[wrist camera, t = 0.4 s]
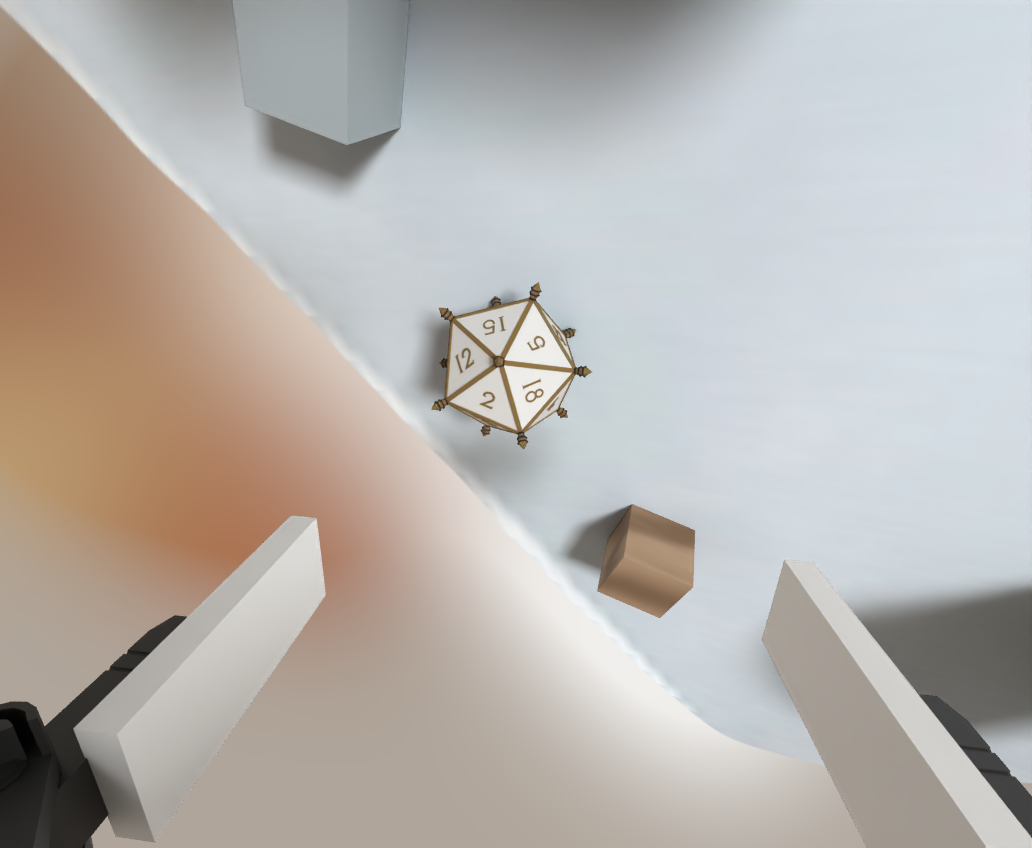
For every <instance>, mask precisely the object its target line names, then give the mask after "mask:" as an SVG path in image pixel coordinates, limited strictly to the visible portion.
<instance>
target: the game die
mask: <svg viewBox="0 0 1032 848" xmlns="http://www.w3.org/2000/svg"><path fill="white" fill-rule="evenodd" d="M540 292H541V290H540V286H539V282H538V283H537V284H536V285H534V286H533V287H531V291H530V297H529V298H527V299H523V300H519V301H515V302H511V303H507V304H503V305H501V302H500V299H498V298H497V297H496V296H495V297H494V299H493V300H492V301H491V302H492V306H493V307H491V308H487V309H483V310H479V311H475V312H471V313H467V314H463V315H459V316H453V315H452V312H451V311H449V310H448V308H447V309H446V308H439V310H440V313H441V317H444V318H445V320H446V319H447V320H449V321H450V332H449V345H448V358H447V359H444V358H443V360H442V361H441V362H440V364H441V365H442V367H443V368H444V367H446V368H447V372H446V385H445V398H444V399H443V400H439V401H437V402H436V401H435V403H434V405H433V407H432V409H431V410H439V411H441V409H442V408H443V409H444V408H445V406H446V405H450V406H452V407H454V408H456V409H457V410H459V411H461V412H463V413H465V414H466V415H468V416H470V417H472V418H473V419H475V420H477V421H479V422H481V423H482V424H484V426H483V427H482V430H481V432H482V434H483V436H486V435H487V434H489V431H490V427H493V428H496V429H500V430H504V431H507V432H511V433H515V434H518V438H517V440H518V443H517V444H518V445H520V446H521V447H522V448H523V449H524V448H525V446H526V444H527V443H528V441H527V437H526V436H525V435H524V432H526V431H527V430H529V429H530V428H532V427H533V426H535V425H536V424H538V423H539V422H541V421H542V420H544V419H545V418H547V417H548V416H550V415H551V414H553V413H554V412H557V414H558V416H560V418H562V417H565V418H568V416H567V410H564V408H560V405H561V403H562V401H563V399H564V397H565V395H566V393H567V391H568V389H569V387H570V385H571V382H572V380H573V378H574V376H575V375H576V374H577V375H579V376H580V377H581V376H584V377H586V375H588V374H590V373H591V372H592V371H590V370H589V369H588V368H587V367H586V366H585V367H582V366H580V367H578V368H576V366H575V363H574V360H573V357H572V354H571V351H570V348H569V345H568V342H567V339H566V338H571V337H572V336H574V333H575V331H576V330H575V329H571V328H569V329H568V330H566V331H565V332H564V333H563V332H562V331H561V330H560V328H559V327H558V326H557V325H556V324H555V322H554V321H553V320H552V319H551V318H550V316H549V315H548V314H547V313H546V312H545V311H544V309H543V308H542V307H541V306H540V305H539V303H538V302H537V301H536V298H537V297H538V296H540V295H539V293H540Z"/></svg>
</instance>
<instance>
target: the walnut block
mask: <svg viewBox="0 0 1032 848" xmlns="http://www.w3.org/2000/svg"><path fill="white" fill-rule="evenodd" d="M694 544H695V530H693V529H690V528H688V527H686V526H683V525H681V524H678V523H676V522H674V521H671V520H669V519H666V518H664V517H662V516H659V515H657V514H654V513H652V512H650V511H647V510H645V509H642V508H640V507H638V506H635V505H633V504H632V506H631V507H630V508H629V510H628V511H627V513H626V514H625V516H624V517H623V518H622V520H621V521H620V523H619V524H618V525H617V527H616V528H615V530H614V531H613V533H612V534H611V535H610V537H609V538H608V540H607V545H606V550H605V555H604V560H603V565H602V570H601V575H600V580H599V585H598V590H597V591H598V592H601V593H603V594H605V595H607V596H610V597H612V598H614V599H617V600H619V601H621V602H624V603H626V604H628V605H631V606H633V607H635V608H638V609H640V610H642V611H645V612H647V613H649V614H652V615H654V616H656V617H658V618H660V617H662V616H663V615H664V614H665V613H666V612H667V611H668V610H669V609H670V608H671V607H672V606H673V605H674V604H675V603H677V602H678V601H679V600H680V599H681V598H682V597H683V596H684V595H685V594H686V593H687V592H688V591H689V590H690V589H692V588H693V575H694Z"/></svg>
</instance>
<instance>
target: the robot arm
mask: <svg viewBox="0 0 1032 848" xmlns="http://www.w3.org/2000/svg"><path fill="white" fill-rule="evenodd" d="M325 595H326V593H325V585H324V577H323V568H322V560H321V551H320V544H319V535H318V527H317V518H313V517H301V516H290V517H289V518H288V519H287V520H286V521H285V522H284V523H283V524H282V525H281V526H280V527H279V528H278V529H277V530H276V531H275V532H274V533H273V534H272V535H271V536H270V537H269V538H268V539H267V540H266V541H265V542H264V543H263V544H262V545H261V546H260V547H259V548H258V549H257V550H256V551H255V552H254V553H252V554H251V555H250V556H249V557H248V558H247V559H246V560H245V561H244V562H243V563H242V564H241V565H240V566H239V567H238V568H237V569H236V570H235V571H234V572H233V573H232V574H231V575H230V576H229V577H228V578H227V579H226V580H225V581H224V582H223V583H222V584H221V585H220V586H219V587H218V588H217V589H216V590H215V591H214V592H213V593H212V594H211V595H209V596H208V597H207V598H206V599H205V600H204V601H203V602H202V604H200V605H199V606H198V607H197V608H196V609H195V610H194V611H193V612H192V613H191V614H190V615H189V616H188V617H184V616H173V617H171V618H170V619H168V620H166V621H165V622H163V623H161V624H160V625H158V626H156V627H155V628H153V629H151V630H149V631H148V632H147V633H146V634H145V635H144V636H143V637H142V638H141V639H139V640H138V641H137V642H136V643H135V644H134V645H133V646H132V647H131V648H130V649H128V652H127V654H123V655H122V656H121V657H120V658H119V659H118V660H117V661H115V662H114V663H113V664H112V665H111V666H110V669H109V670H108V671H105V672H103V674H101V675H100V676H99V677H98V678H97V679H96V680H95V681H94V682H93V683H92V684H90V685H89V686H88V687H87V688H86V689H85V690H84V691H83V692H82V693H81V694H80V695H79V696H77V697H76V698H75V699H74V700H73V701H72V702H71V703H70V704H69V705H68V706H67V707H66V708H65V709H63V710H62V711H61V712H60V713H59V714H58V715H57V716H56V717H55V718H53V719H52V720H51V721H50V722H49V723H48V724H47V725H46V726H45V727H44V725H43V722H42V719H41V717H40V715H39V712H38V710H37V708H36V707H35V706H33V705H31V704H30V703H28V702H8V703H4V704H0V848H93V844H92V838H91V836H92V834H93V833H94V832H95V830H96V829H97V828H98V827H99V826H100V824H101V823H102V822H103V821H104V819H105V818H106V817H107V816H108V818H109V821H110V823H111V826H112V829H113V831H114V834H115V836H116V837H122V838H129V839H135V840H142V841H149V842H156V840H157V839H158V837H159V836H160V834H161V833H162V831H163V830H164V829H165V827H166V826H167V824H168V823H169V821H170V820H171V818H172V817H173V816H174V814H175V813H176V811H177V810H178V808H179V807H180V805H181V804H182V802H183V801H184V799H185V798H186V797H187V795H188V794H189V792H190V791H191V789H192V788H193V787H194V785H195V784H196V782H197V781H198V779H199V778H200V776H201V775H202V773H203V772H204V771H205V769H206V768H207V766H208V765H209V763H210V762H211V760H212V759H213V757H214V756H215V755H216V753H217V752H218V750H219V749H220V747H221V746H222V744H223V743H224V742H225V740H226V739H227V737H228V736H229V734H230V733H231V731H232V730H233V729H234V727H235V726H236V724H237V723H238V721H239V720H240V718H241V717H242V715H243V714H244V713H245V711H246V710H247V708H248V707H249V705H250V704H251V702H252V701H253V700H254V698H255V696H256V695H257V694H258V692H259V690H260V689H261V688H262V686H263V685H264V683H265V682H266V681H267V679H268V678H269V676H270V675H271V673H272V672H273V671H274V669H275V668H276V666H277V665H278V663H279V662H280V660H281V659H282V657H283V656H284V654H285V653H286V651H287V650H288V649H289V647H290V646H291V644H292V643H293V641H294V640H295V639H296V637H297V636H298V634H299V633H300V631H301V630H302V628H303V627H304V625H305V624H306V623H307V621H308V620H309V618H310V617H311V615H312V614H313V612H314V611H315V610H316V608H317V607H318V605H319V604H320V602H321V601H322V599H323V598H324V597H325ZM762 641H763V643H764V645H765V647H766V649H767V651H768V653H769V655H770V657H771V659H772V661H773V663H774V665H775V666H776V668H777V670H778V672H779V674H780V676H781V678H782V680H783V682H784V684H785V686H786V688H787V690H788V692H789V694H790V696H791V698H792V700H793V702H794V704H795V706H796V708H797V710H798V712H799V714H800V716H801V718H802V720H803V722H804V724H805V726H806V728H807V730H808V732H809V734H810V736H811V738H812V740H813V742H814V744H815V746H816V748H817V750H818V752H819V754H820V756H821V758H822V760H823V762H824V764H825V766H826V768H827V770H828V772H829V774H830V776H831V778H832V780H833V782H834V784H835V786H836V788H837V790H838V792H839V794H840V795H841V798H842V800H843V802H844V803H845V806H846V807H847V810H848V811H849V814H850V815H851V818H852V819H853V822H854V823H855V825H856V827H857V829H858V831H859V833H860V835H861V837H862V839H863V841H864V843H865V845H866V847H867V848H1032V796H1031V795H1030V794H1029V793H1028V791H1027V790H1026V789H1025V788H1024V787H1023V786H1022V784H1021V783H1020V782H1019V781H1018V780H1017V778H1016V777H1013V776H1011V774H1010V770H1009V769H1008V768H1007V767H1006V765H1005V764H1004V763H1003V762H1002V761H1001V760H1000V758H999V757H998V756H997V755H996V754H995V753H992V752H991V750H990V747H989V746H988V744H987V743H986V742H985V741H984V740H983V738H982V737H981V736H980V735H979V734H978V733H977V731H976V730H975V729H974V728H973V727H972V726H971V724H970V723H969V722H968V721H967V720H966V719H965V718H963V717H962V716H961V715H960V714H958V713H957V712H956V711H955V710H953V709H952V708H951V707H950V706H948V705H947V704H946V703H945V702H943V701H942V700H941V699H940V698H938V697H937V696H929V695H920V694H917V692H916V691H915V690H914V688H913V687H912V686H911V685H910V683H909V682H908V681H907V680H906V678H905V677H904V676H903V675H902V673H901V672H900V671H899V669H898V668H897V667H896V666H895V664H894V663H893V662H892V661H891V659H890V658H889V657H888V656H887V654H886V653H885V652H884V651H883V649H882V648H881V647H880V645H879V644H878V643H877V642H876V640H875V639H874V638H873V637H872V635H871V634H870V633H869V632H868V630H867V629H866V628H865V627H864V625H863V624H862V623H861V621H860V620H859V619H858V618H857V616H856V615H855V614H854V613H853V611H852V610H851V609H850V608H849V606H848V605H847V604H846V603H845V601H844V600H843V599H842V597H841V596H840V595H839V594H838V592H837V591H836V590H835V589H834V587H833V586H832V585H831V584H830V582H829V581H828V580H827V579H826V577H825V576H824V575H823V573H822V572H821V571H820V570H819V568H818V567H817V566H816V565H815V563H814V562H802V561H791V560H784V563H783V566H782V570H781V574H780V577H779V581H778V584H777V588H776V591H775V595H774V598H773V602H772V605H771V609H770V612H769V616H768V620H767V623H766V627H765V630H764V634H763V637H762Z"/></svg>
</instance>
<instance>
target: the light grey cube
mask: <svg viewBox="0 0 1032 848" xmlns="http://www.w3.org/2000/svg"><path fill="white" fill-rule="evenodd" d="M232 2H233V11H234V19H235V27H236V36H237V44H238V53H239V61H240V69H241V78H242V86H243V95H244V103H245V106H247V107H249V108H252V109H254V110H257V111H260V112H262V113H265V114H267V115H270V116H273V117H275V118H278V119H280V120H283V121H286V122H288V123H291V124H293V125H296V126H298V127H301V128H304V129H306V130H309V131H311V132H314V133H317V134H319V135H322V136H324V137H327V138H330V139H332V140H335V141H337V142H340V143H342V144H345V145H349V144H352V143H355V142H359V141H362V140H365V139H368V138H371V137H374V136H377V135H380V134H383V133H386V132H389V131H392V130H395V129H398V128H400V127H401V114H402V101H403V87H404V74H405V60H406V47H407V34H408V20H409V7H410V1H407V0H232Z"/></svg>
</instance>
